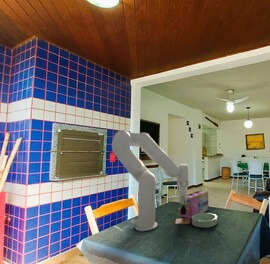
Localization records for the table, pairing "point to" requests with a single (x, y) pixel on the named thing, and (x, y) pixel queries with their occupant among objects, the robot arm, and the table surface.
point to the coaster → (183, 221)
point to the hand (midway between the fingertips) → (183, 213)
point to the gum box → (196, 203)
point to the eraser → (180, 210)
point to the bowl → (204, 220)
